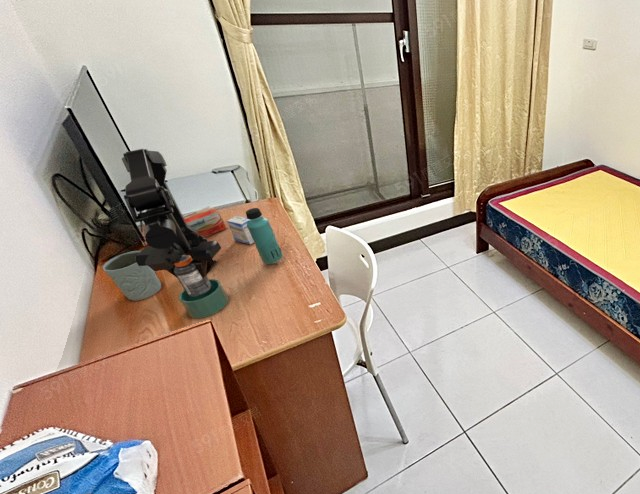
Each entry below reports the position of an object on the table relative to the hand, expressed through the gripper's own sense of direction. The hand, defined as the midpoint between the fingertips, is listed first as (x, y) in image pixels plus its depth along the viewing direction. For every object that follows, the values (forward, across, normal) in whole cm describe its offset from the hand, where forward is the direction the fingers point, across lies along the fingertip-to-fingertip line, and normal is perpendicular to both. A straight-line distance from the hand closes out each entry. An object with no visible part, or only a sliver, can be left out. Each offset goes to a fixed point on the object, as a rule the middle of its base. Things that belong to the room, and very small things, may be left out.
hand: (193, 277), depth 112 cm
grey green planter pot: (+11, -24, +10) cm, 28 cm away
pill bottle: (+5, 0, 0) cm, 5 cm away
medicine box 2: (+11, -4, +36) cm, 38 cm away
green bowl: (+10, 0, 0) cm, 11 cm away
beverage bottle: (+11, +11, +20) cm, 25 cm away
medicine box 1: (+11, -24, +43) cm, 50 cm away
